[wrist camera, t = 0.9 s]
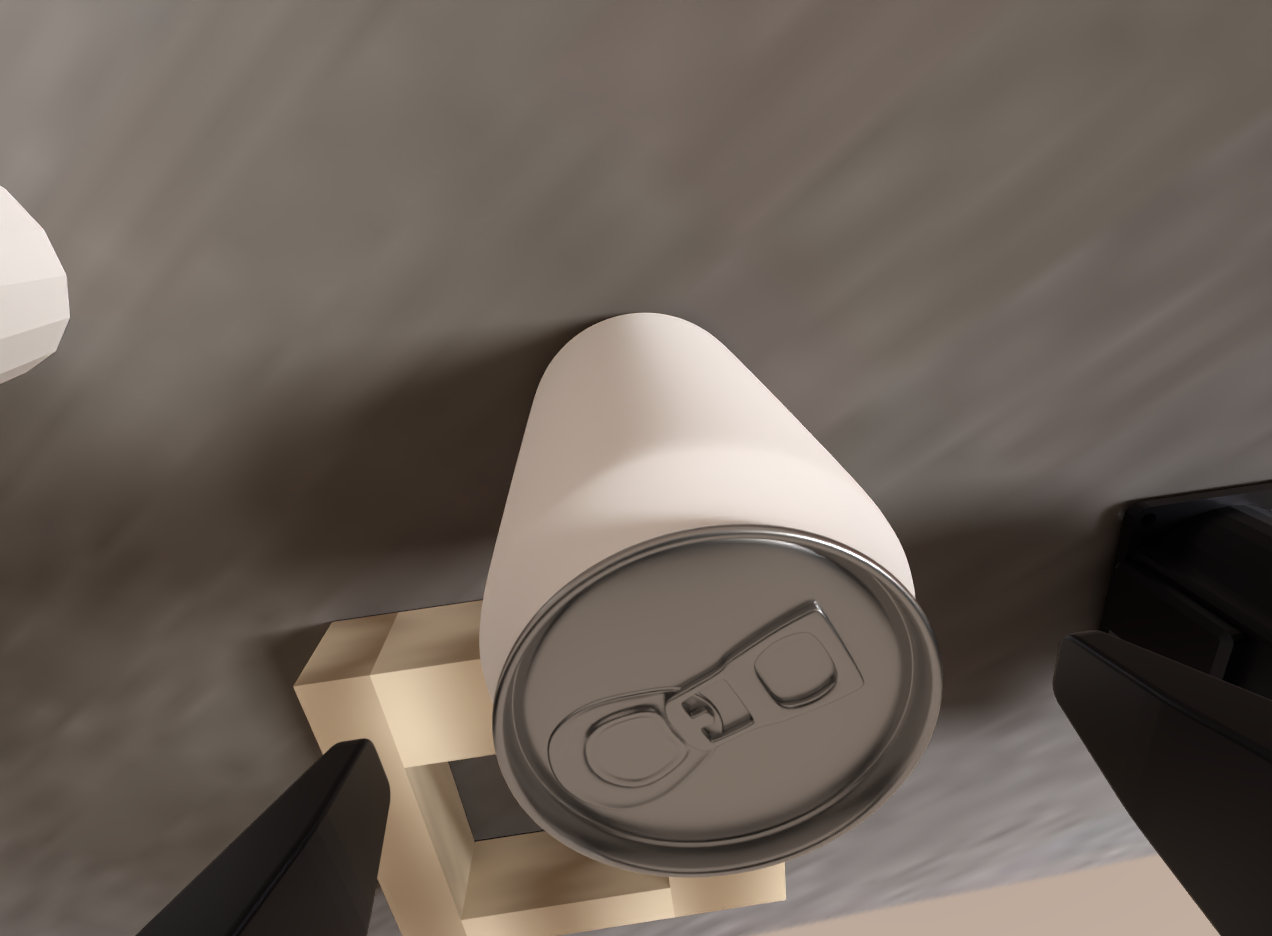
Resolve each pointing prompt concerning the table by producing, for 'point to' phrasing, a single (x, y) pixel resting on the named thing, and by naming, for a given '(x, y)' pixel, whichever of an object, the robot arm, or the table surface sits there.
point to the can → (695, 617)
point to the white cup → (28, 292)
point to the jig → (431, 806)
